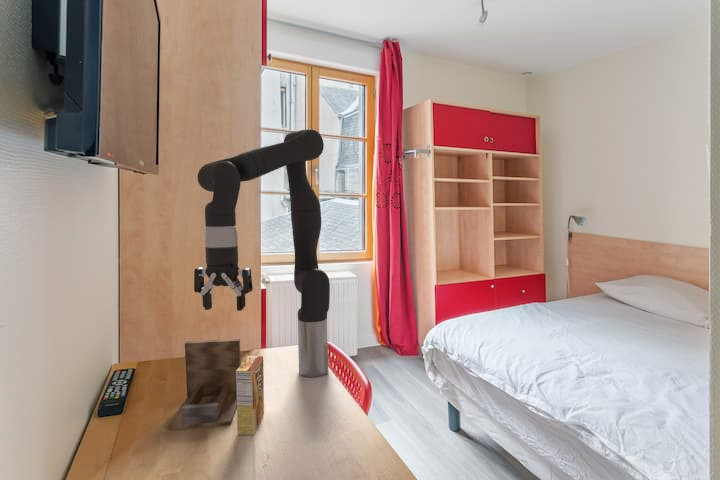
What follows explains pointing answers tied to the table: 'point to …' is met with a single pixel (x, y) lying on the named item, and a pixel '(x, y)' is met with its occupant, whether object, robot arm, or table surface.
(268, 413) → the table surface
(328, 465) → the table surface
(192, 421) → the board
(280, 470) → the table surface
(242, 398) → the candy box
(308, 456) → the table surface
